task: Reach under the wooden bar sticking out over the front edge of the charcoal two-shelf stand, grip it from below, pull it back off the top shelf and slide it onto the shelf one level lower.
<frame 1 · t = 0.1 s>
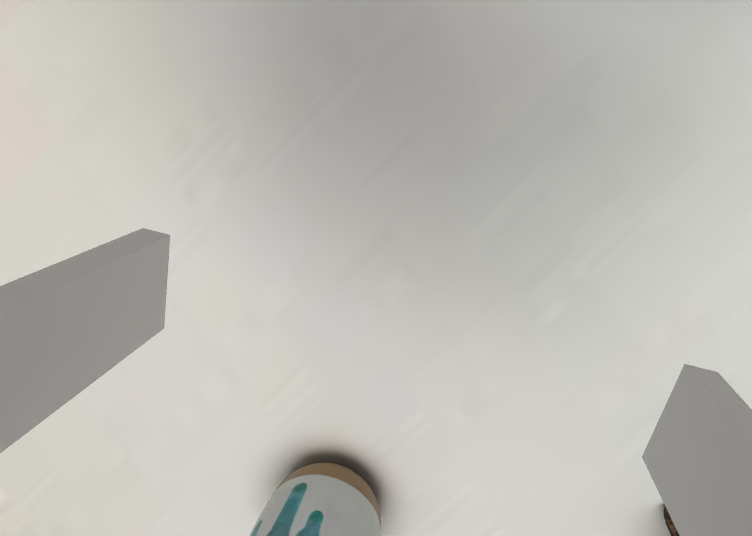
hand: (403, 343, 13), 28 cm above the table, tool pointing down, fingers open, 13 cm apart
vase: (335, 488, 50), on the table
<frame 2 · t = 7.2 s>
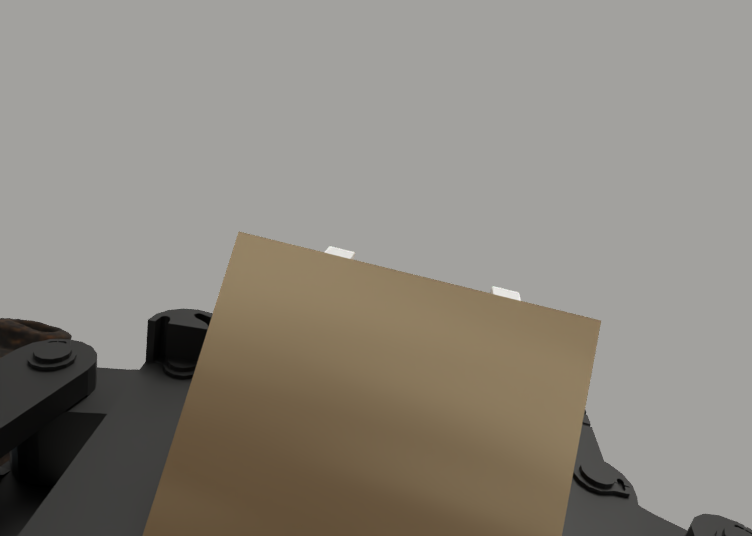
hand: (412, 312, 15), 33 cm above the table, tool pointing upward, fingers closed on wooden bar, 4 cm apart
wooden bar: (379, 448, 20), point 28 cm above the table, touching gripper, shelf
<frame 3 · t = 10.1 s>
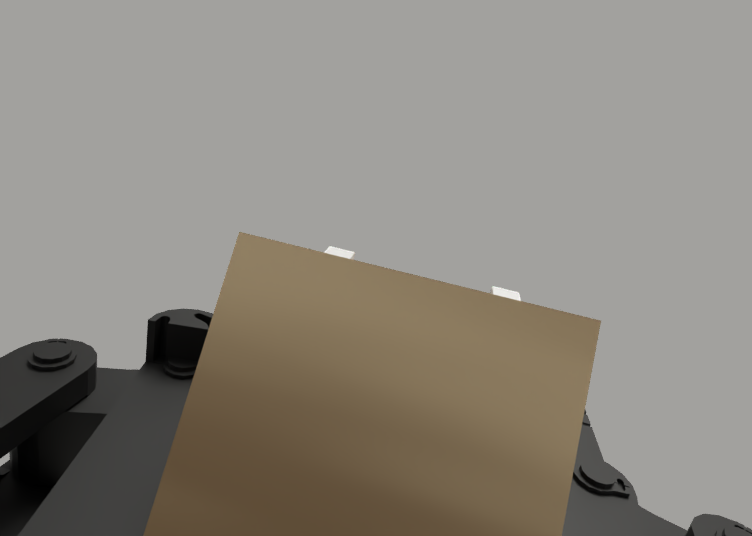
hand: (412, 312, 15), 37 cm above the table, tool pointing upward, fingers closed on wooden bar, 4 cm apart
wooden bar: (379, 448, 20), point 32 cm above the table, touching gripper
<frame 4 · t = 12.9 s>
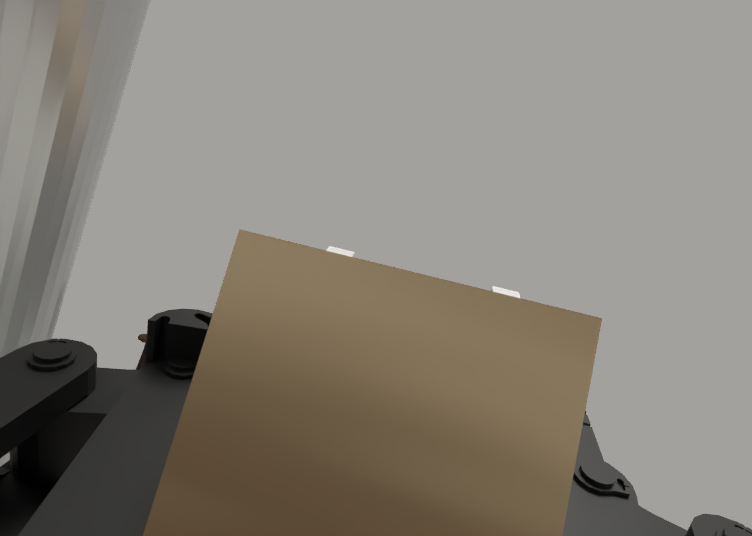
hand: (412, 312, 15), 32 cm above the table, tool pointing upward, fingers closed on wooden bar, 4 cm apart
wooden bar: (379, 447, 20), point 27 cm above the table, touching gripper
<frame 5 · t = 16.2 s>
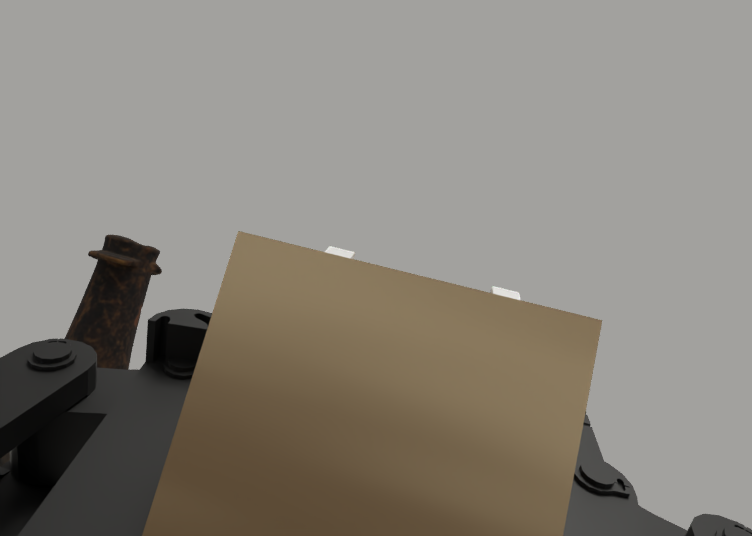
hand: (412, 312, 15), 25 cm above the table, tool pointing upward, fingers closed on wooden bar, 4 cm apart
wooden bar: (379, 448, 20), point 20 cm above the table, touching gripper
when the fingers open (25 cm above the table, at t = 18.8 s): wooden bar drops 3 cm, resting on shelf.
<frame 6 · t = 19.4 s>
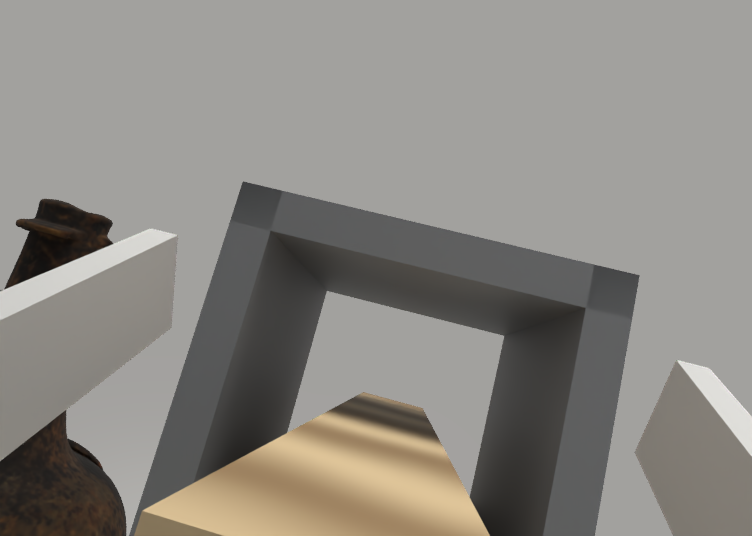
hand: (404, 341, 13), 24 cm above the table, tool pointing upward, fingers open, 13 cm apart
wooden bar: (357, 532, 19), point 17 cm above the table, touching shelf
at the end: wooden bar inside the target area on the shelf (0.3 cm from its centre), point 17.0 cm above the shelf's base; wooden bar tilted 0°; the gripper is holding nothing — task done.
